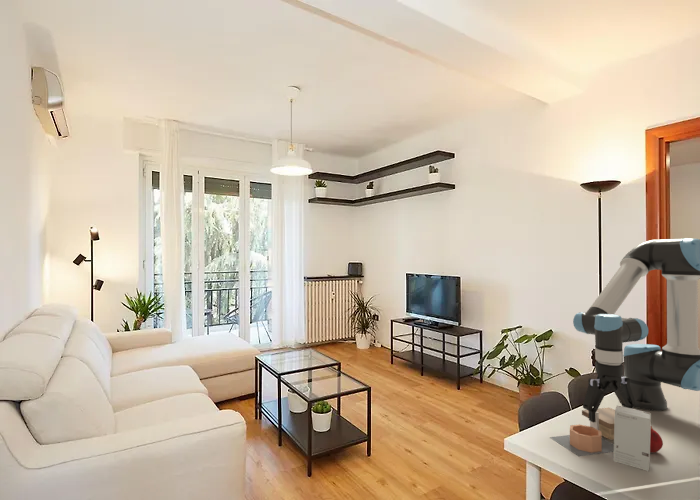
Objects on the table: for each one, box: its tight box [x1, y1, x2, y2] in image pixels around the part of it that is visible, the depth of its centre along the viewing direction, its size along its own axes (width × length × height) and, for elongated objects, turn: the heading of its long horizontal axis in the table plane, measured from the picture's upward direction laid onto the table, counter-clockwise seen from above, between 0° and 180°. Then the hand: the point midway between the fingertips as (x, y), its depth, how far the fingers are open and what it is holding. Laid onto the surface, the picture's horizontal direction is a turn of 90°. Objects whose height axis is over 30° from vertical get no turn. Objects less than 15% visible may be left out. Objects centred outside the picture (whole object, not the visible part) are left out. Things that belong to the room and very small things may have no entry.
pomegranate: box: [650, 425, 664, 454], centre depth 115 cm, size 6×6×8 cm
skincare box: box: [612, 405, 652, 472], centre depth 109 cm, size 8×6×15 cm
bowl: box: [569, 423, 603, 453], centre depth 118 cm, size 8×8×4 cm
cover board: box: [581, 407, 615, 429], centre depth 126 cm, size 11×11×2 cm
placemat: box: [549, 434, 614, 457], centre depth 120 cm, size 16×12×1 cm
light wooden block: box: [599, 424, 614, 441], centre depth 126 cm, size 7×7×5 cm
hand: (609, 429), depth 126 cm, fingers closed on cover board, 11 cm apart
